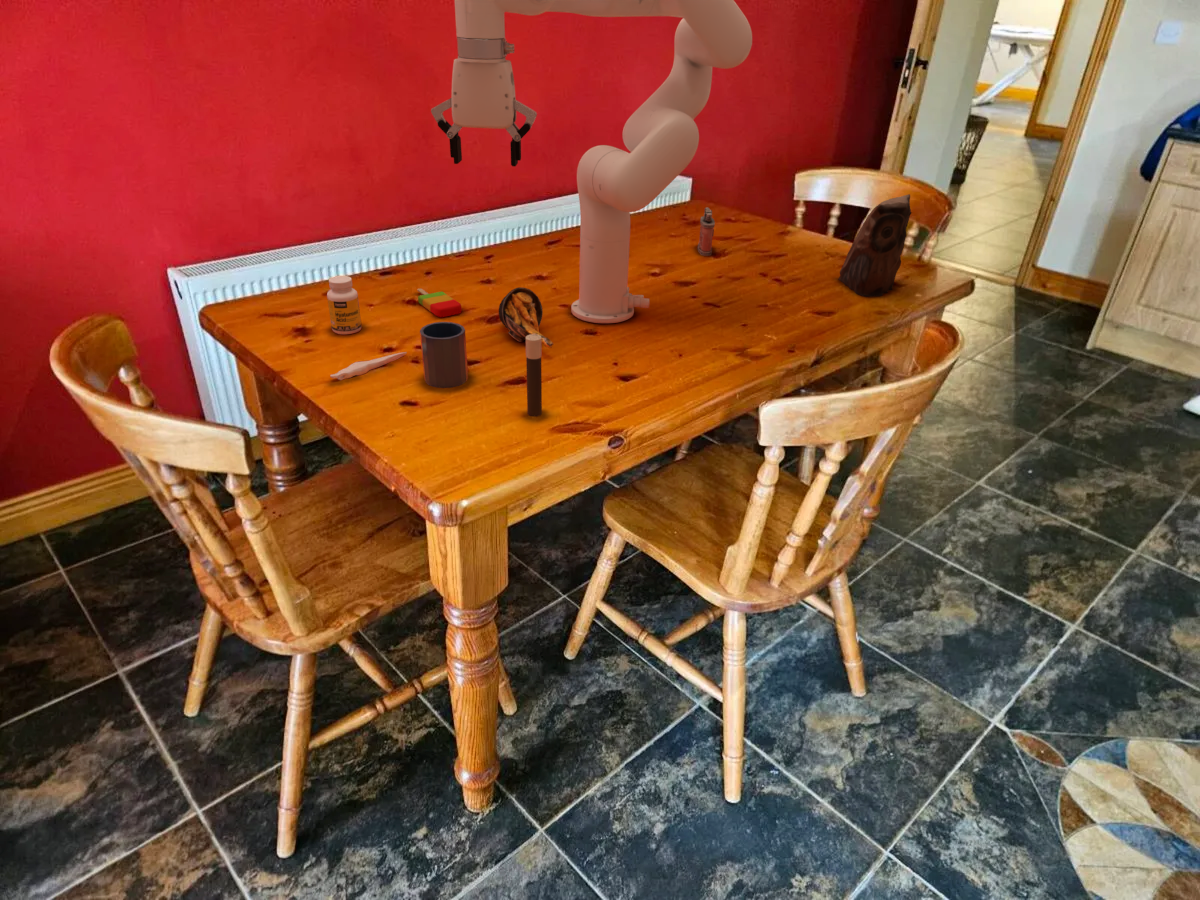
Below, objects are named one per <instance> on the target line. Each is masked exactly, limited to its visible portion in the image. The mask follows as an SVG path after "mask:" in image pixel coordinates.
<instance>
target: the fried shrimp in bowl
mask: <svg viewBox="0 0 1200 900" xmlns="http://www.w3.org/2000/svg"><path fill="white" fill-rule="evenodd" d="M543 314H544V313H543V305H542V301H541V300H540V297H538V295H537V294H536V293H535V292H534V291H533V290H531V289H530V288H527V287H522V286H521V287H516V288H513V289H511V290H510V291H509V292H507V294H506V295H505V296H504V297H503V298H502V299H501V302H500V303H499V307H498V316H499V320H500V323H502V325H503V326H504V327H505V329H507V330H508V334H509V335H510V336H511V337H512V339H514V340H516V341H517V342H520V343H522V342H523V341H524V340H525V341H526V336H527V335H530V334H537V335H540V336H541V340H542V345H544V346H545V347H546V348H549V349H552V346H553V345H554V342H553V341H552V340H551V339H550V338H548V337H547V336H544V335H543V334H542V333H540V328H539V327H540V325H541V323H542V319H543Z"/></svg>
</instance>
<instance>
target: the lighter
mask: <svg viewBox="0 0 1200 900" xmlns="http://www.w3.org/2000/svg"><path fill="white" fill-rule="evenodd" d="M715 221H716V220H715V219H714V218H713V210H712V209H710V207H707V206H706V207H705V208H704V212H703V216H700V220H699V223H700V229H699V240H698V243H697V252H698V253H699V255H701V256H703V257H704V256H705V257H706V256H707V257H708V256H712V252H713V247H712V244H713V237H714V232H715V229H714V228H715V223H716V222H715Z"/></svg>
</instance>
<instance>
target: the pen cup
mask: <svg viewBox="0 0 1200 900" xmlns="http://www.w3.org/2000/svg"><path fill="white" fill-rule="evenodd" d="M419 337H420V349H421V358H422V370H423V379H424V382H425V384H427V385H428V386H430V387H433V388H438V389H450V388H456V387H459V386H462V385H464V384H465V383H466V382H467V381H468V379H469V371H468V369H469V367H468V354H467V353H468V352H467V339H466V337H467V336H466V329H465V327H464V325H461V324H460V323H457V322H453V321H437V322H432V323H428V324H426V325H424V326H422V327H421V328H420V330H419Z"/></svg>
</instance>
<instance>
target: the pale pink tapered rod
mask: <svg viewBox="0 0 1200 900" xmlns="http://www.w3.org/2000/svg"><path fill="white" fill-rule="evenodd" d="M406 354H408V353H407V351H403V352H398V353H393V354H388V355H384V356H382V357H378V358H377V357H376V358H373V359H370V360H365V361H355V362H353V363H351V364H350V365H348V366H347V367H345V368H342V369H340V370H338V372H336V373H332V374H330V378H331V379H337V380H339V381H343V380H346V379H351V378H352V377H354V376H356V377H357V376H362V375H365V374H367V373H368V372H369V371H371V370H372V371H373V370H375V369H376V368H377V369H378V368H380V367H381V366H384V365H387V364H389V363H391V362H394V361H396V360H398V359H400V358H402V357H404V356H405V355H406Z"/></svg>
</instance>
